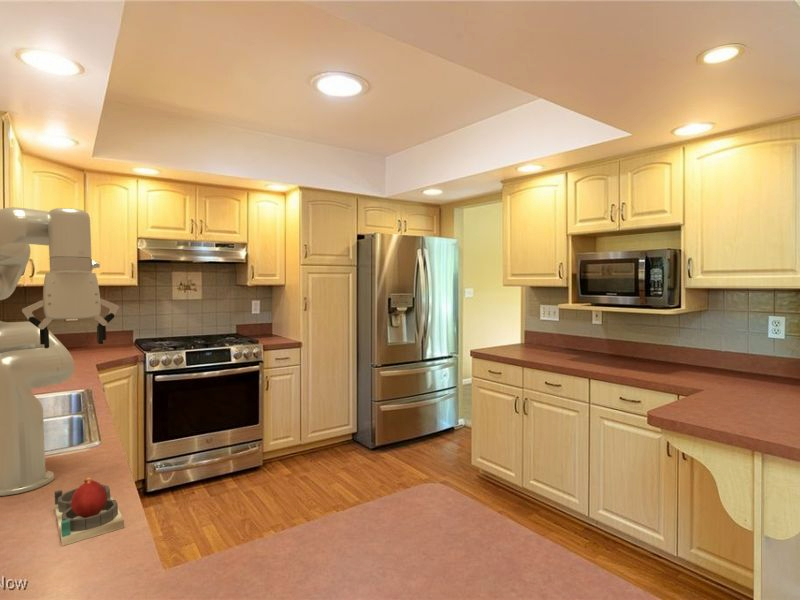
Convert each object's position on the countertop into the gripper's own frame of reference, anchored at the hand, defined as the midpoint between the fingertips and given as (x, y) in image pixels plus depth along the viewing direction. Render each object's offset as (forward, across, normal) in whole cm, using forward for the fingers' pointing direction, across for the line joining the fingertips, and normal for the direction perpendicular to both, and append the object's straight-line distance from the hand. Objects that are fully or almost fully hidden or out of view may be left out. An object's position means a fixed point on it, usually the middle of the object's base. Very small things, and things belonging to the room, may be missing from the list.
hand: (74, 345), depth 103 cm
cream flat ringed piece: (+33, 0, +13) cm, 36 cm away
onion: (+32, 0, +18) cm, 36 cm away
